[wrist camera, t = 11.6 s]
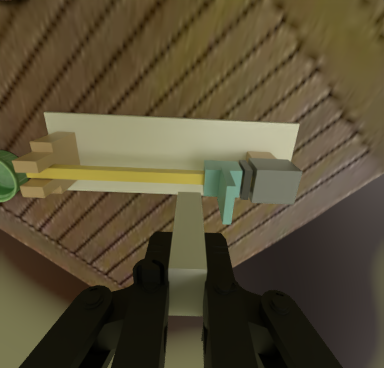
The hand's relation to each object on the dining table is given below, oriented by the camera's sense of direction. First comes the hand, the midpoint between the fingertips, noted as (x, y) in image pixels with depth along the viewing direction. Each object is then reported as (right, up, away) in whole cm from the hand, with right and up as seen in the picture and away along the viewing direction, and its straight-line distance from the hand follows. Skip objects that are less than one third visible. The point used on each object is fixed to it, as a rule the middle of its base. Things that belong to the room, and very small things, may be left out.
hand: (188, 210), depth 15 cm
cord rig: (-3, +7, +26) cm, 27 cm away
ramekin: (-34, +4, +27) cm, 44 cm away
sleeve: (+4, +3, +20) cm, 21 cm away
